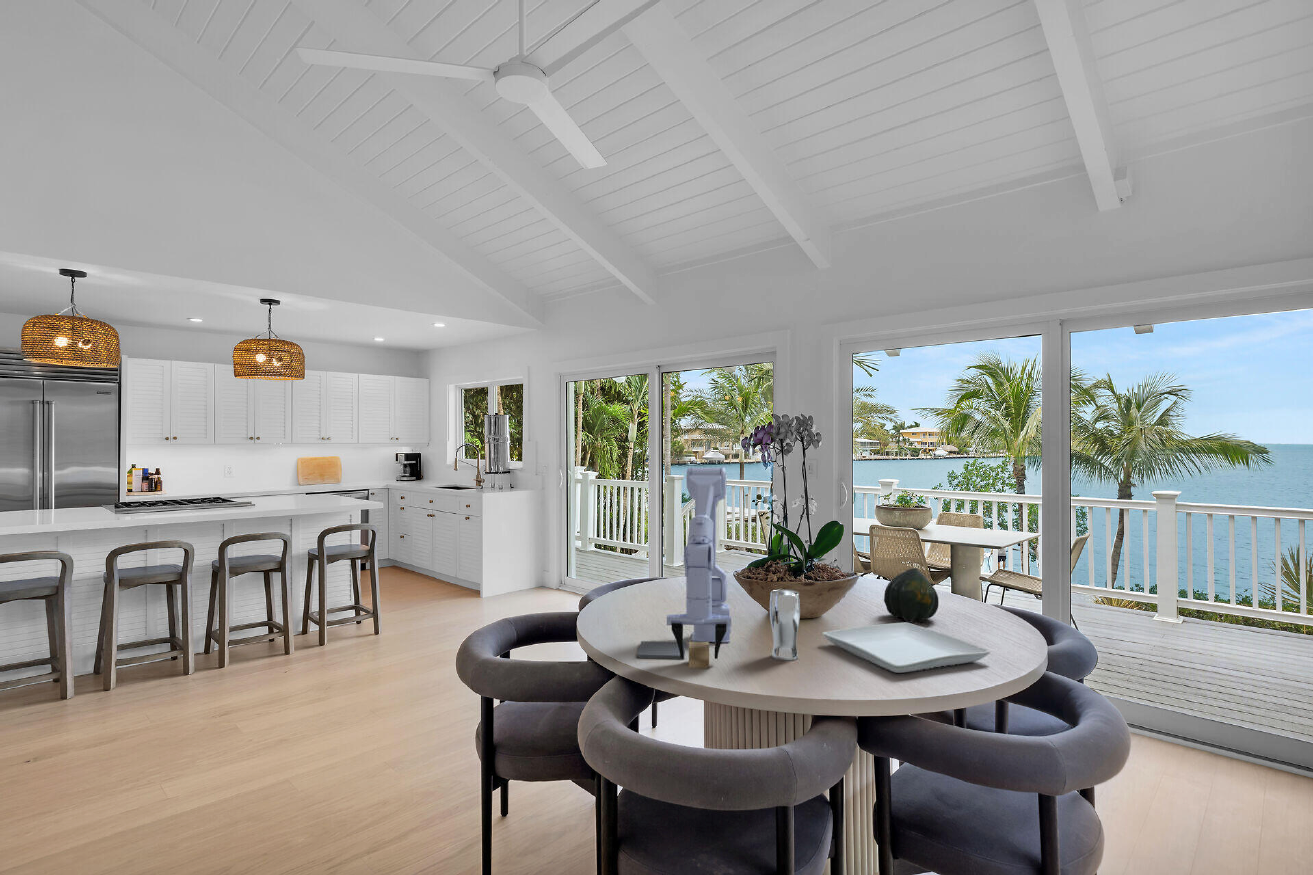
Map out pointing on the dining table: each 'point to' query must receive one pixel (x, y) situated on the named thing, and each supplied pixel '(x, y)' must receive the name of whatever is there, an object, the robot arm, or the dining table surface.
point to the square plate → (905, 646)
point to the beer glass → (784, 623)
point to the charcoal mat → (659, 650)
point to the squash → (911, 596)
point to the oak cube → (698, 654)
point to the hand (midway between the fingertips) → (699, 657)
